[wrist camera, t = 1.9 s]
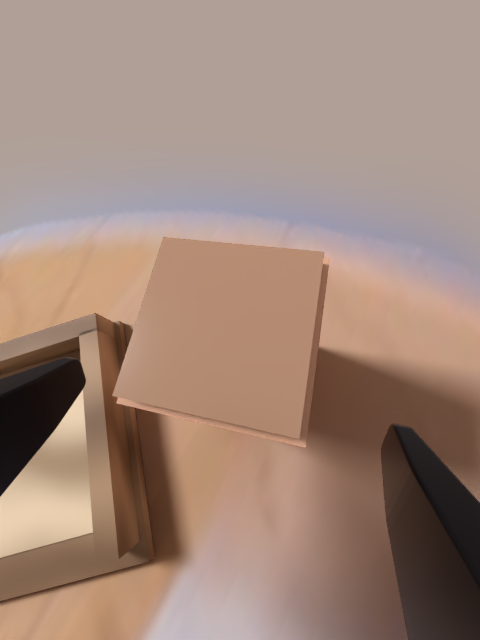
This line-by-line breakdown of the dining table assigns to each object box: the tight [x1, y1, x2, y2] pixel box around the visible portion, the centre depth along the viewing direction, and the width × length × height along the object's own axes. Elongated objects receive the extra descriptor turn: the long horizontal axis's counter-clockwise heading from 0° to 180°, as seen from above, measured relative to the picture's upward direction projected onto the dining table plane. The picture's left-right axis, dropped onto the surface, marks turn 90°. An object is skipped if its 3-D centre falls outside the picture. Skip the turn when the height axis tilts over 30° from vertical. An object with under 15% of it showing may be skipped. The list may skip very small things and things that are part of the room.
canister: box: [112, 237, 330, 448], centre depth 12 cm, size 5×5×11 cm
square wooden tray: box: [0, 313, 154, 601], centre depth 17 cm, size 14×14×3 cm
